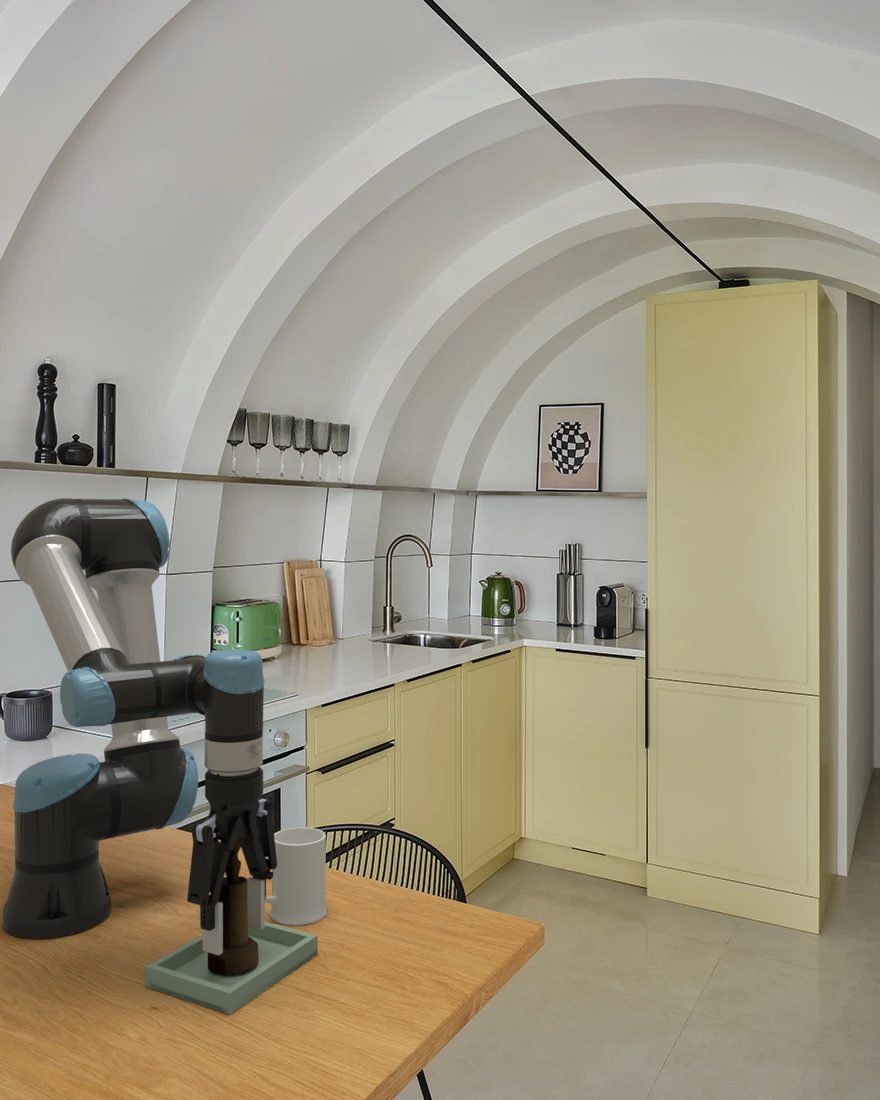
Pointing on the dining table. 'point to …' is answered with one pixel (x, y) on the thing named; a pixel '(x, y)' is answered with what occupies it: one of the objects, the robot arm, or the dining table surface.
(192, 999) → the tray
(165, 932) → the dining table surface
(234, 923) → the wooden pepper mill
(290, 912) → the mug
